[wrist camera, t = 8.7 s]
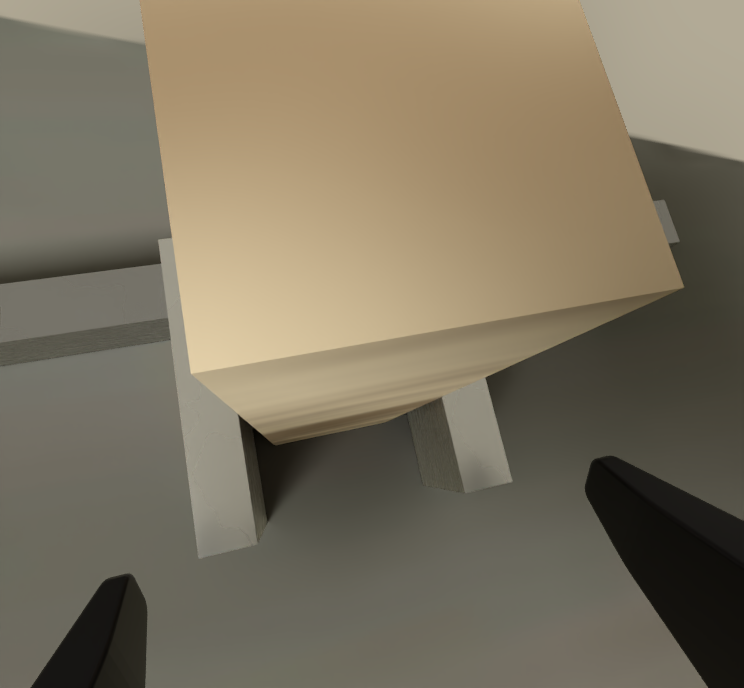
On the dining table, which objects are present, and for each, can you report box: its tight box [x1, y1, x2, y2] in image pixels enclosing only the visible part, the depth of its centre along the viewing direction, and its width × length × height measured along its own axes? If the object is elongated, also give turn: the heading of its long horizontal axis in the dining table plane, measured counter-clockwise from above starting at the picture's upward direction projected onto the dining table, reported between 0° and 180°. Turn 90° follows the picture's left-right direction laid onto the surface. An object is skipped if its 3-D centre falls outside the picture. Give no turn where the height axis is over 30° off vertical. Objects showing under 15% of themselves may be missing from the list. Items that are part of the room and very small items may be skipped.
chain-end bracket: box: [0, 200, 680, 558], centre depth 15 cm, size 9×28×4 cm, turn 102°
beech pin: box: [140, 0, 684, 445], centre depth 11 cm, size 4×4×14 cm
